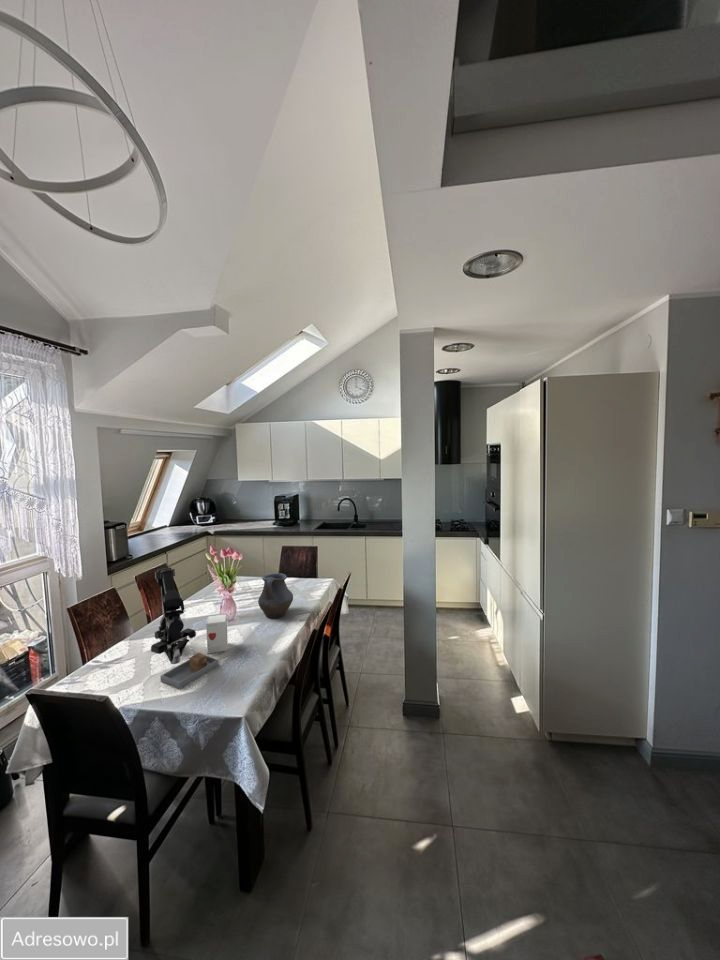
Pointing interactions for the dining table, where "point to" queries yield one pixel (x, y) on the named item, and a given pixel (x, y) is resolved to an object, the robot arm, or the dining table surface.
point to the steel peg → (176, 655)
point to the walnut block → (198, 661)
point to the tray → (187, 673)
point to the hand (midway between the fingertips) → (175, 659)
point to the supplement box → (216, 633)
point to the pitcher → (275, 596)
